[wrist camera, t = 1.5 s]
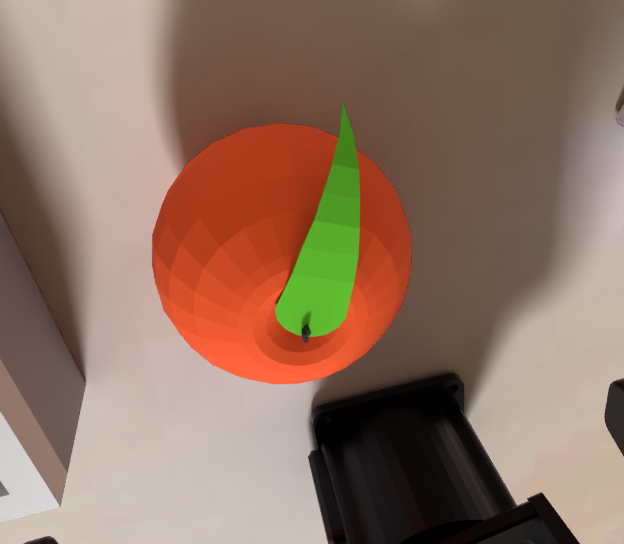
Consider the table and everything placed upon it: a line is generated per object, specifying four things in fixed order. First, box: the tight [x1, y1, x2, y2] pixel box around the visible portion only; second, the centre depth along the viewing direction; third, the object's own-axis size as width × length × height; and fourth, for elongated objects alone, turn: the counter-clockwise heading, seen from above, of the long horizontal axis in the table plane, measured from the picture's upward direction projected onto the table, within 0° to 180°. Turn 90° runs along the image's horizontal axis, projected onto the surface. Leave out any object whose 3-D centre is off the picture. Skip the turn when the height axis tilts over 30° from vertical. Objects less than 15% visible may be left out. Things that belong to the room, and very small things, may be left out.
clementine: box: [152, 101, 412, 384], centre depth 15 cm, size 8×7×7 cm
